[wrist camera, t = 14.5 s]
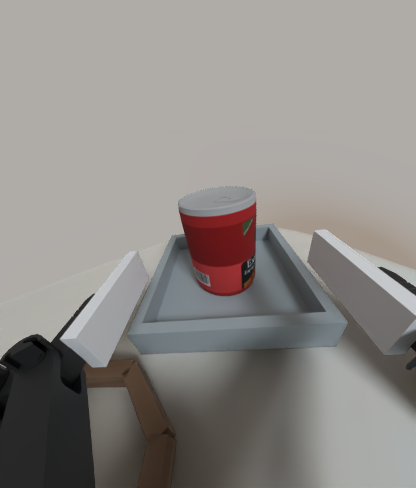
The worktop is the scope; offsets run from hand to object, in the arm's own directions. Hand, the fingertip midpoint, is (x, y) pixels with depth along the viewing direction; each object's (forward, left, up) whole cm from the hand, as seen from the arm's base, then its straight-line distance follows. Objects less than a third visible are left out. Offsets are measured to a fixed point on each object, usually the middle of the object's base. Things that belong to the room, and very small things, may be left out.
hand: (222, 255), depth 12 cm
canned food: (0, +6, -8) cm, 10 cm away
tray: (0, +6, -9) cm, 11 cm away
